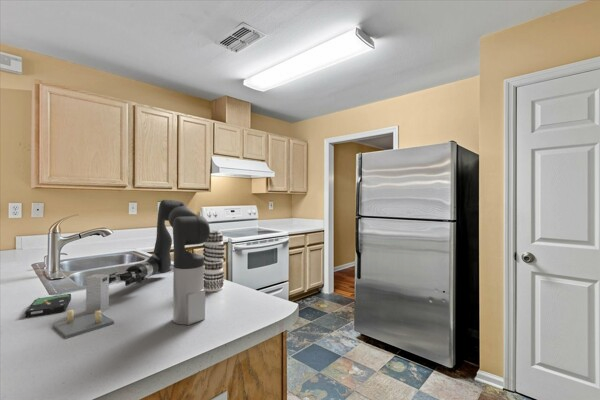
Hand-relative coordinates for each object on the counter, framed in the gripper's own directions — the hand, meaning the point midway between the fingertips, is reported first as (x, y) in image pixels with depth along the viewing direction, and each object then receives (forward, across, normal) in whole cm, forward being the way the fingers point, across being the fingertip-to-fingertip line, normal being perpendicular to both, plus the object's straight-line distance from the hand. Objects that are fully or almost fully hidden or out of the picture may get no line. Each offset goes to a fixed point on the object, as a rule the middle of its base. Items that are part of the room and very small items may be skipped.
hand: (115, 282), depth 109 cm
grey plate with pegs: (+21, +4, +7) cm, 22 cm away
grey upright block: (+9, 0, +7) cm, 11 cm away
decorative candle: (-17, +32, +7) cm, 37 cm away
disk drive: (+7, -18, +8) cm, 21 cm away
